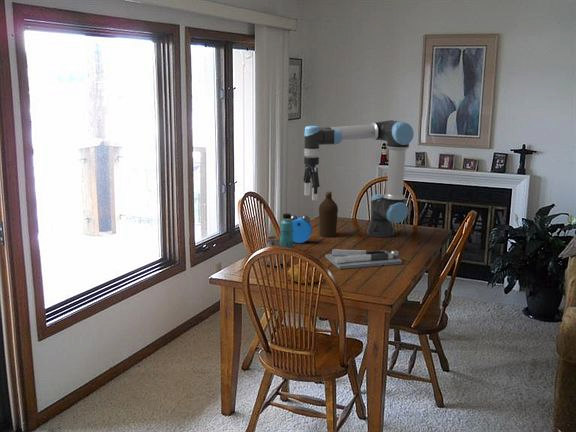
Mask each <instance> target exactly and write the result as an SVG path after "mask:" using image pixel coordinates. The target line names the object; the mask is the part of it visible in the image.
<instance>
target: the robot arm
mask: <svg viewBox="0 0 576 432" xmlns="http://www.w3.org/2000/svg"><path fill="white" fill-rule="evenodd" d="M414 132H415V131H414V128H413V127H412V126H411V125H410V124H409V123H408V122H406V121H401V120H391V119H390V120H384V121H378V122H377V121H375V122H374V121H373V122H372V123H371V124H358V125H344V126H343V125H342V126H329V127H328V126H327V127H321V126H318V125H306V126H305V128H304V134H303V136H304V150H303V154H304V161H303V164H304V165H305V167H304V173H303V182H304V196H311V200H312V201H318V198H319V197H318V196H319V195H318V193H319V188H320V179H319V168H318V167H316V166H319V164H320V157H319V156H320V145H321V146H322V145H325V146H326V145H327V146H328V145H340V144H341V143H342V141H354V140H369V139H372V140H373V141H384V142H386V148H387V149H388V151H389V153H388V168H387V184H386V193H384V194H381V193H378V194H373V195H372V196H371V201H370V202H371V203H370V222H369V224H368V227H367V231H366V234H367V235H368V236H370V237H376V238H390V237H393V236H394V235H395V229H394V226H393V223H394V224H398V223H402V222H404V220H405V219H406V218H407V217H408V214H409V207H408V206H407V204H406V197H405V196H404V194H403V193H404V180H405V178H404V177H405V165H406V164H405V163H406V152H407V150H408V149H409V148H410V143H411V142H412V141H413V139H414V135H415V133H414ZM311 184H312V185H311ZM311 188H312V189H311ZM311 192H312V193H311ZM311 194H312V195H311Z"/></svg>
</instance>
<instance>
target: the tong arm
mask: <svg viewBox="0 0 576 432" xmlns="http://www.w3.org/2000/svg"><path fill="white" fill-rule="evenodd" d="M387 252H388V251H387V250H385V251H378V250H372V249H370V250H368V249H367V250H366V249H365V250H364V249H358V250H357V249H339V248H332V249H331V254H332V255H339V256H354V255H367V254H378V253H387Z"/></svg>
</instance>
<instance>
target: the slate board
mask: <svg viewBox="0 0 576 432" xmlns="http://www.w3.org/2000/svg"><path fill="white" fill-rule="evenodd" d="M377 251H386V249H380V250H377ZM387 253H390V252H389V251H387ZM335 257H341V256H339V255H332V253H327V254H325V255H324V258H325V259H327V260H328V261H329V262H330V263H332V265H334V267H336V268H338V270H346V269H357V268H368V267H382V265H384V266H393V265H394V266H395V264H396V265H403V260H401V259H400V258H399V257H398V258H393V259H383V260H368V261H355V262H345V263H336V262H335Z"/></svg>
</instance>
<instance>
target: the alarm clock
mask: <svg viewBox="0 0 576 432" xmlns="http://www.w3.org/2000/svg"><path fill="white" fill-rule="evenodd" d="M288 220H291V221H292V222H293V243H295V244H296V243H297V244H302V243H305V242H308V240H309V239H310V237H311V235H312V232H313V228H312V224H311V222H310V221H311V218H310V217H309V215H307V214H306V215H305V214H304V215H302V216H301V215H296V214H291V218H290V219H288Z"/></svg>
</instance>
